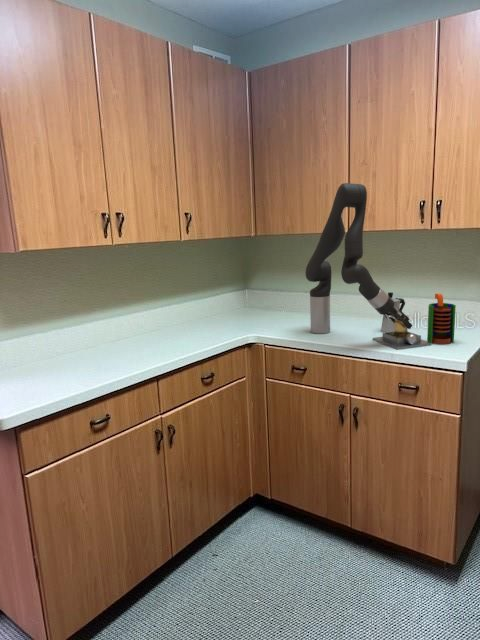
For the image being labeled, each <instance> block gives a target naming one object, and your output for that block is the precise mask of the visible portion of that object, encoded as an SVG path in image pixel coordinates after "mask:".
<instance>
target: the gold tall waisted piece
mask: <svg viewBox="0 0 480 640" xmlns="http://www.w3.org/2000/svg"><path fill="white" fill-rule="evenodd" d="M405 315H406V314H405ZM406 316H407V317H408V318H409V319H410V317H409V315H406ZM397 319H398V317H397ZM403 320H404V319H403ZM407 331H408V328H407V327H406V326H405V325H404V324H402V323H401V322H400V321H396V320H395V335H394V337H397V338H401V337H406V335H407Z"/></svg>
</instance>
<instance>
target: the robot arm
mask: <svg viewBox="0 0 480 640" xmlns="http://www.w3.org/2000/svg"><path fill="white" fill-rule="evenodd" d="M367 195H368V191H367V188H366V186H365V185H364V184H361V183H350V182H349V183H348V182H346V183H345V182H344V183H341V184H340V185H339V186H338V188H337V191H336V193H335V195H334V196H335V197H334V200H333V203H332V206H331V210H330V212H329V216H328V219H327V221H326V223H325V226H324V227H323V230H322V232H321V235H320V237H319V240H318V242H317V245H316V248H315V250H314V251H313V253H312V256H311V257H310V259H309V260H308V263H307V265H306V267H305V278H306V280H307V281H308V282H312V283H314V282H315V283H316V282H318V284H317V285H316V286H315V287H313V288H312V289H311V288H310V290H309V308H310V310H309V311H310V312H309V313H310V314H309V315H310V316H309V317H310V319H309V320H310V333H313V334H328V333H331V291H332V290H331V289H332V266H331V263H330V262H329V261H326V259H328V257H330V256H331V255H332V254H333V253H335V252H336V251H337V250H338V248H339V247H340V246H341V244H342V242H343V239H344V258H343V262H342V265H341V278H342V281H343V282H344V283H346V284H348V285H353V284H359V286H358V292H359V293H360V295H362V296H363V297H364V299H366V301H367V302H368V303H369V305H371V307H373V309H374V310H375V311H377V313H378V314H379V315H380V316H381V315H382V316H383V315H384V316H385V317H386V318H389V320H391V321H392V322H393V323H394V324H395V320H396V321H400V322H401V323H402V324H404V325H405V326H406V327H407V330H410V329H412V327H413V324H412V322H410V317H409V318H408V317H407V316H408V315H407V316H406V314H405V312H404V311H403V310H402V311H401V310H399V311H398V309H396V308H394V304H395V303H394V301H393V300H392V299H391V298H390V297H389V296H388V293H387V292H385V291H384V289H382V288H381V287H380V286H379V285H378V284H377V282H375V281H374V279H373V277H372V275H371V273H370V272H369V270H368V268H367V267H366V266H364V265H362V264H358V262H359V260H361V259H362V258H363V255H364V242H363V240H364V238H363V237H364V236H363V234H364V224H365V218H366V211H367V210H366V209H367V199H368V196H367ZM345 208H352V209H353V208H354V217H353V220H352V222H351V225H350V226H349V227H348V230H347V231H346V229H345V225H344V221H343V217H342V215H343V211H344V209H345ZM397 317H398V319H397ZM403 319H404V320H403Z"/></svg>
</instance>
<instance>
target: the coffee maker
mask: <svg viewBox="0 0 480 640" xmlns="http://www.w3.org/2000/svg"><path fill="white" fill-rule="evenodd" d="M387 295H388V296H389V297H390V298H391V299H392V300H393V301H394V303H395V304H394V308H396V309H398V311H399V310H401V311H402V312H403V309H404V307H405V305H406V302H405V298H398V297H393V296H394V292H391V291H390V292H389V291H388V292H387ZM380 327H381V328H380V332H381V333H388V332H395V324H394V323H393V322H392V321H391V320H389V318H386V317H385V316H384V315H382V321H381V326H380Z"/></svg>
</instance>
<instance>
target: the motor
mask: <svg viewBox="0 0 480 640" xmlns="http://www.w3.org/2000/svg"><path fill="white" fill-rule="evenodd" d="M434 299H436V300H437V302H433V303H432V302H431V303H429V304H428V314H427V336H426V337H427V338H426V339H427V340H426V341H428V342H431V343H432V345H433V344H434V345H440V346H441V345H443V346H445V345H450V344H451V343H452V344H454V343H455V325H456V324H455V323H456V309H457V308H456V305H455V304H454V303H449V302H447V303H446V302H444V296H443V293H440V292H439V293H434Z"/></svg>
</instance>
